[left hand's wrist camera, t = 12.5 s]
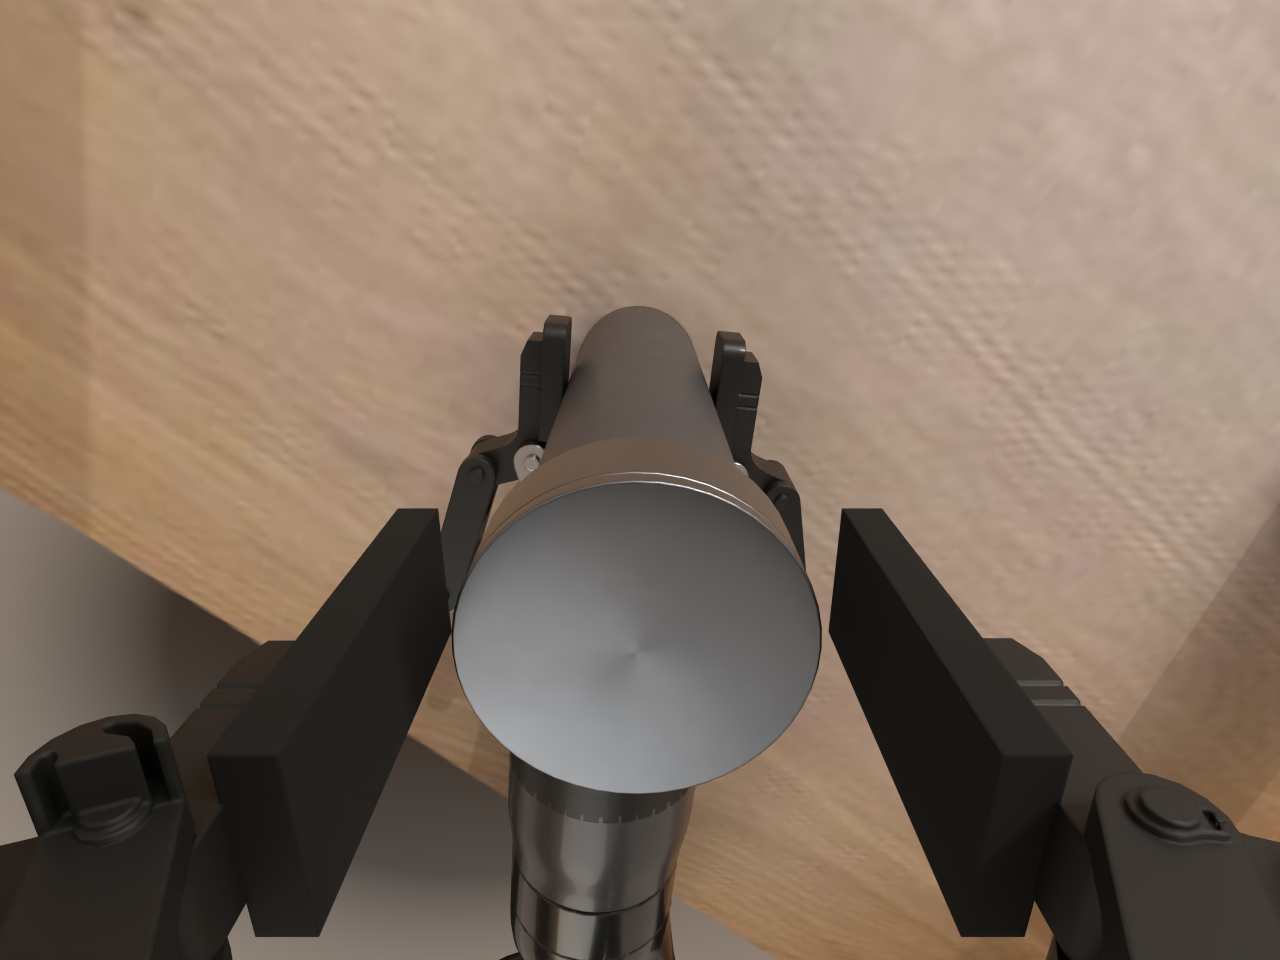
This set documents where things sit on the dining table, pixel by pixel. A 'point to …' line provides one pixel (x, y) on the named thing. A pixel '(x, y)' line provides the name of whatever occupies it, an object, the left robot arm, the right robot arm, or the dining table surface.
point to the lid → (636, 619)
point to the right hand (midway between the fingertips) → (644, 330)
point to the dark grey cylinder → (637, 387)
